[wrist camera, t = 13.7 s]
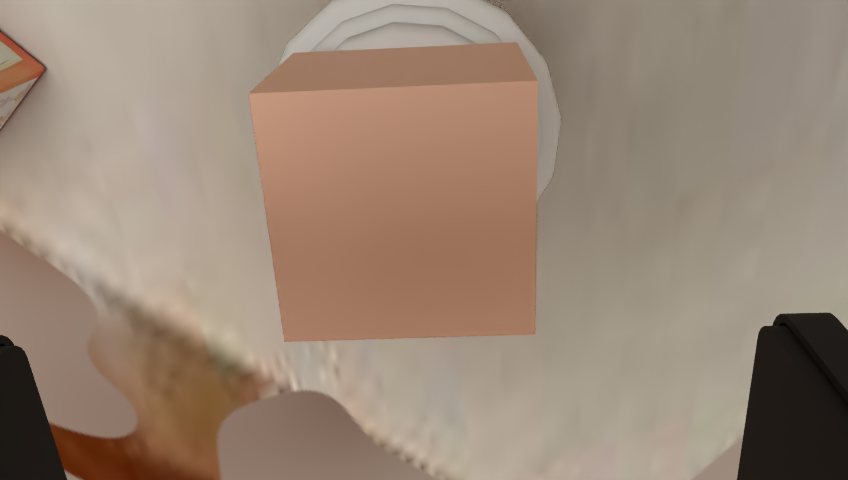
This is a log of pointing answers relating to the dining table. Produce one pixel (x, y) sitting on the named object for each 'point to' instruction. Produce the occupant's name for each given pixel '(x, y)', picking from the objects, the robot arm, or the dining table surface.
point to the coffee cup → (434, 26)
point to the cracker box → (15, 76)
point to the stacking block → (401, 191)
